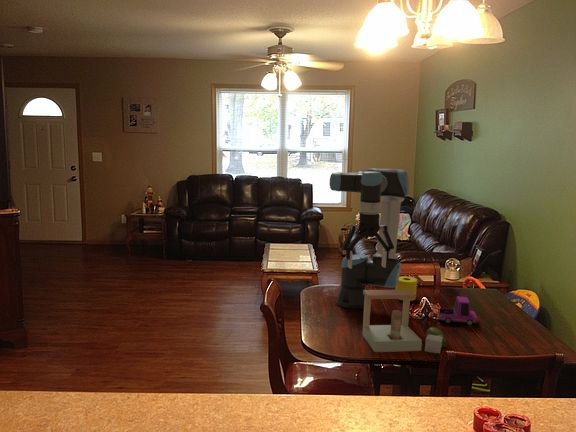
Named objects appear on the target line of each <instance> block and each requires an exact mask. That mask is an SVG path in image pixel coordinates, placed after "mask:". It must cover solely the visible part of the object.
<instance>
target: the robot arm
mask: <svg viewBox="0 0 576 432" xmlns="http://www.w3.org/2000/svg"><path fill="white" fill-rule="evenodd" d="M329 188H330V190H331V191H335V192H343V193H344V192H347V193H360V201H359V211H360V213H359V217H358V218H359V220H358V222H359V223H358V225H354V224H351V225H350V227H349V232H348V234H347V235H346V238H345V239H344V241H343V242H342V245H341V249H342V250H344V251H345V257H343V259H342V262H341V274H340V276H341V278H340V279H341V280H340V289H339V291H338V293H337V296H336V300H335V301H336V305H337V306H339V307H341V308H345V309H348V310H362V309H363V310H364V299H365V295H364V294H363V290H367V286H368V285H369V286H376V287H382V288H392V289H393V288H396V285H397V282H398V280H399V277H400V276H401V271H402V262H399V258H398V256H397V253H396V252H397V243H398V236H399V234H398V232H399V225H400V224H399V223H400V213H401V206H402V202H404V200H406V197H407V196H409V194H410V179H409V174H408V171H406V170H405V169H398V168H381V167H380V168H379V167H375V168H374V167H371V168H365V169H359V170H355V172H354V171H353V172H340V171H337V172H335V171H334V172H331V174H330V178H329ZM357 230H358V233H357V234H356V235H355V232H357ZM354 235H355V237H354ZM353 237H354V238H353ZM374 237H375V238H376V240H377V246H376V253H374V254H373V255H372V259H370V258H369V257H368V255H367V254H361V253H359V254H358V253H357V254H356V253H355V254H353V251H352V250H353V249H354V247H356V245H357V244H358V243H359V242H360V241H361V239H363V238H374Z"/></svg>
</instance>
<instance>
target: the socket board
mask: <svg viewBox="0 0 576 432" xmlns="http://www.w3.org/2000/svg"><path fill="white" fill-rule="evenodd" d="M390 332H391V324H373V325H372V324H369V327H366V328H364V326H363V325H362V332H361V333H362V337H363V338H364V340H365V341H366V343H367V344H368V345H369V347H370V348H371V349H372V350H373V352H374V353H385V352H386V353H389V352H390V353H392V352H395V353H396V352H419V351H420V352H422V345H423V344H422V343H423V341H422V339H421V338H420V337H419V336H418V335H417V333H415V332H414V330H412V329H411V327H409V325H408V326H405V327H403V326H402V325H401V330H400V340H391V339H390Z"/></svg>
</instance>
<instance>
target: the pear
mask: <svg viewBox="0 0 576 432" xmlns="http://www.w3.org/2000/svg"><path fill="white" fill-rule="evenodd" d="M428 334H430V335H435V336H440V337H443V339H442V348H444V347H446V346H447V344H448V343H447V341H446V340H447V339H446V338H445V337H444V334H443V333H442V331H441V330H440V329H439V328H437V327H433V326H432V327H429V328H428V329H427V330H426V333H425V336H426V337H427V335H428Z"/></svg>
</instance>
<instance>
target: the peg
mask: <svg viewBox="0 0 576 432" xmlns="http://www.w3.org/2000/svg"><path fill="white" fill-rule="evenodd" d="M401 316H402V311H401V310H399V309H394V310H392V311H391V317H390V318H391V319H390V320H391V322H390V325H391V332H390V339H391V340H400V330H401Z"/></svg>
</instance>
